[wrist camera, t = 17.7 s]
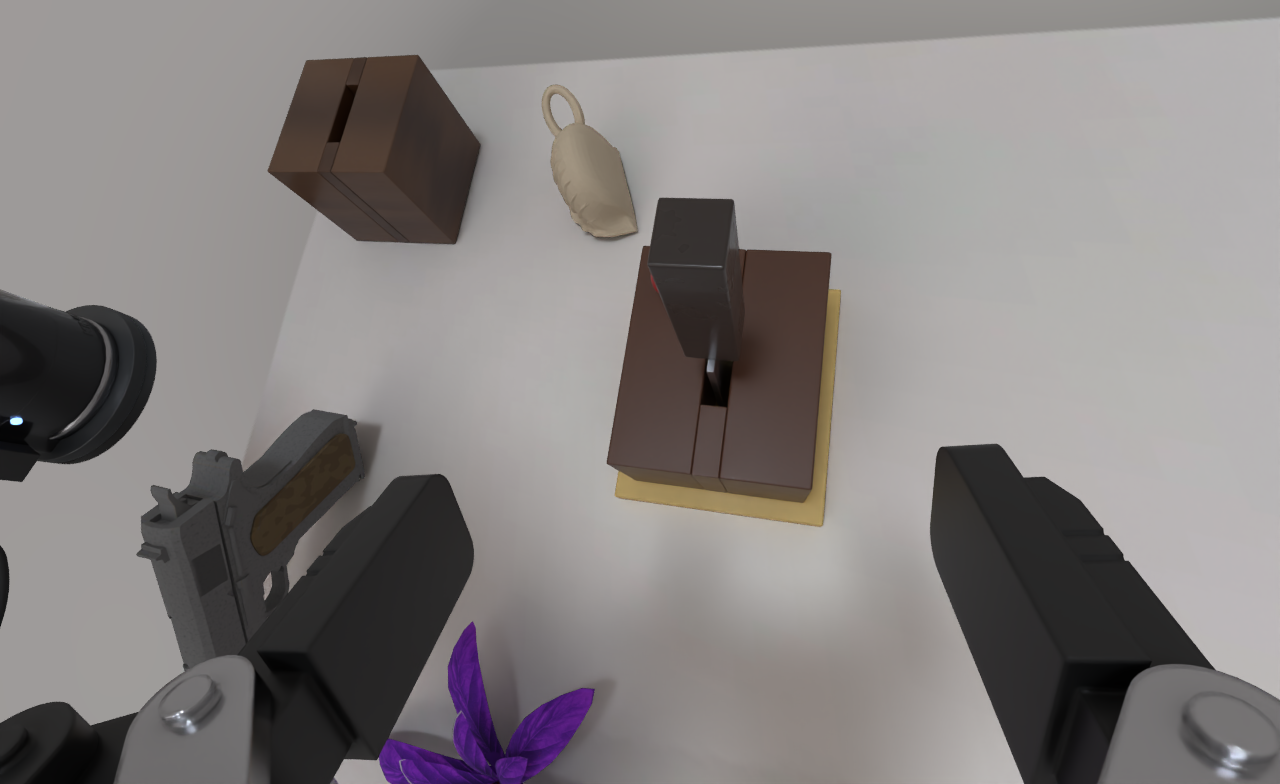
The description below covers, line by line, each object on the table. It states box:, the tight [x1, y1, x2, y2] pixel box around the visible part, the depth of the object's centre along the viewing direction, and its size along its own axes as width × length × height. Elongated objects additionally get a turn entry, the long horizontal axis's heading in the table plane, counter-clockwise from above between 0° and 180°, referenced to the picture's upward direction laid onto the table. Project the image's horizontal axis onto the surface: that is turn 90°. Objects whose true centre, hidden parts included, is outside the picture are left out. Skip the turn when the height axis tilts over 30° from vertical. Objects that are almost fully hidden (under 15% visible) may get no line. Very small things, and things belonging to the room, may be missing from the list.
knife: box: [647, 198, 745, 407], centre depth 24 cm, size 3×2×17 cm
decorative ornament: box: [542, 85, 638, 237], centre depth 37 cm, size 4×8×5 cm, turn 11°
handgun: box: [137, 410, 365, 671], centre depth 33 cm, size 3×18×12 cm
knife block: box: [268, 55, 480, 244], centre depth 38 cm, size 8×8×8 cm
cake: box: [607, 246, 841, 527], centre depth 29 cm, size 13×11×9 cm
